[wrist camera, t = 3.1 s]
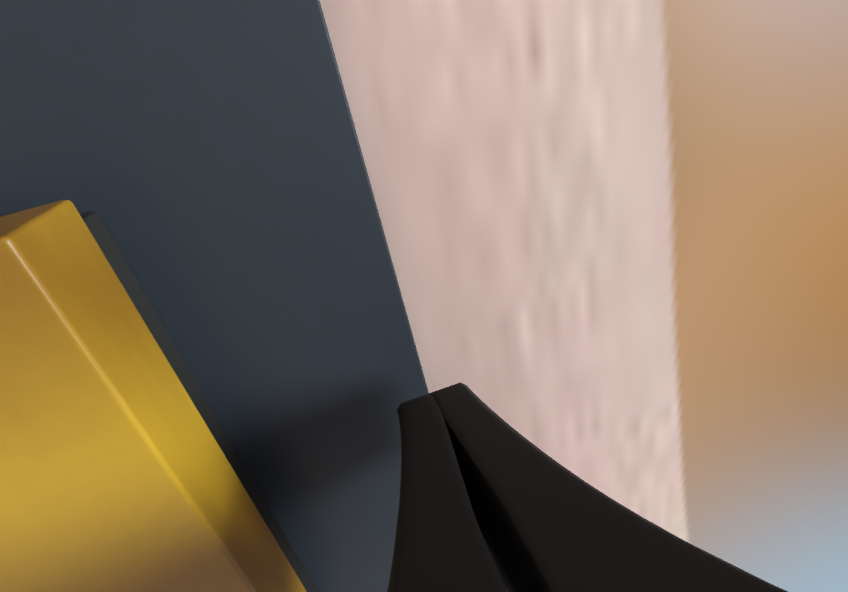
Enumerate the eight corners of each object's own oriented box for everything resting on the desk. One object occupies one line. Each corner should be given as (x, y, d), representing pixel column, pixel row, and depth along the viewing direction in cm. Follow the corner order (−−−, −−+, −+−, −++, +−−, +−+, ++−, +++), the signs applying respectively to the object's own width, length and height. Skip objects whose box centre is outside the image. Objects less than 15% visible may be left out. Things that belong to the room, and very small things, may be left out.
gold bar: (343, 610, 13) (357, 738, 10) (179, 677, 12) (151, 829, 10) (104, 177, 7) (5, 235, 5) (-227, 266, 6) (-539, 386, 4)
